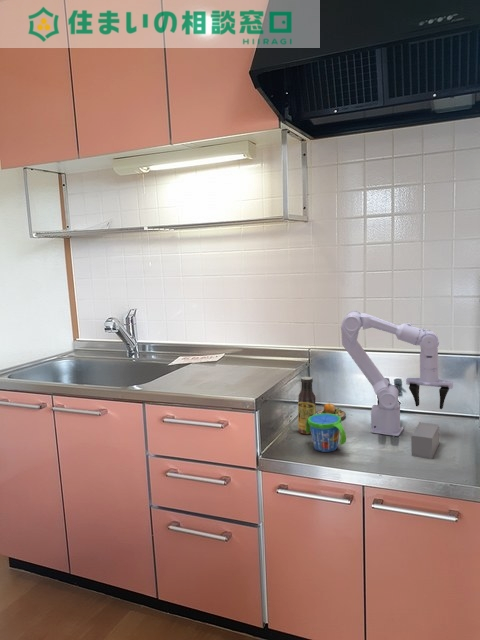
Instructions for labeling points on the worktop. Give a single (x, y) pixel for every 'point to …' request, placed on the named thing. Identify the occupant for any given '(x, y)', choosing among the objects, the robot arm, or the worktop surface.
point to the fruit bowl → (332, 411)
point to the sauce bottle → (305, 403)
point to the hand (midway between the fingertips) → (429, 406)
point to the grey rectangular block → (425, 440)
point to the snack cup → (325, 431)
